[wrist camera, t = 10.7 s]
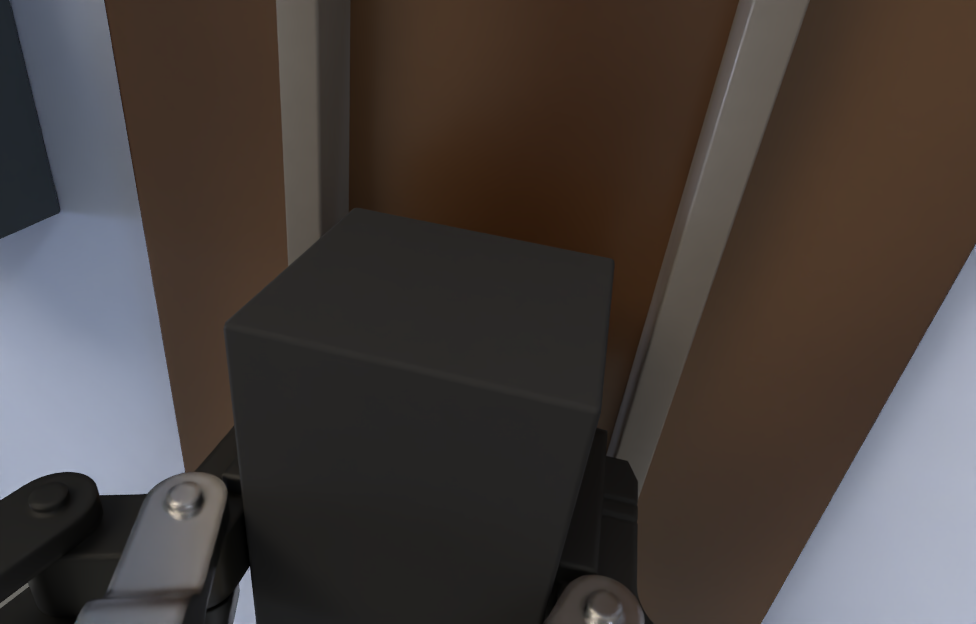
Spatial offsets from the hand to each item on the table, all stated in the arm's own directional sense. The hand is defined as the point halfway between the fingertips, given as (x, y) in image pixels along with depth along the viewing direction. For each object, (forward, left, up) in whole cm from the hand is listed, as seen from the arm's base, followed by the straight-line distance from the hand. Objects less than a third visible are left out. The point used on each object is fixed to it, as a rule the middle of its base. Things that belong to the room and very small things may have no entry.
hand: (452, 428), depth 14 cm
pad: (0, 0, 0) cm, 0 cm away
